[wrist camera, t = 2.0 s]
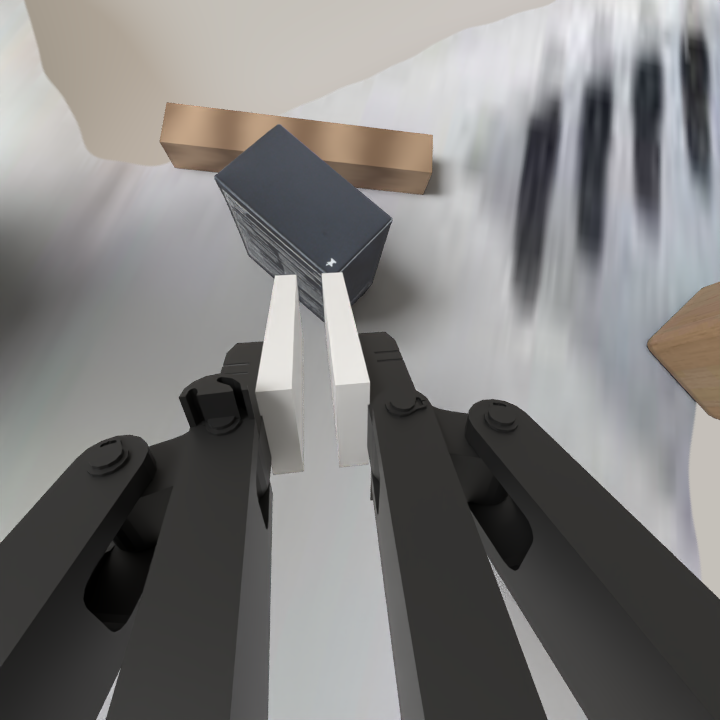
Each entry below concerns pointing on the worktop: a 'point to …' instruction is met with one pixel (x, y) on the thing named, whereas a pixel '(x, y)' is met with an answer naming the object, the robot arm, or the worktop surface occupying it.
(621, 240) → the worktop surface
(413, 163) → the long brown wooden bar
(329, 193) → the small box
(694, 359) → the wooden block
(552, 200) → the worktop surface
